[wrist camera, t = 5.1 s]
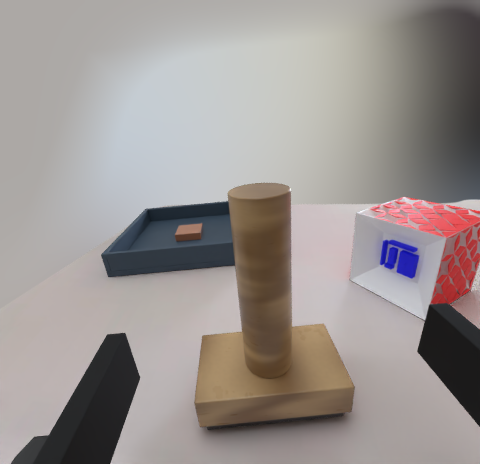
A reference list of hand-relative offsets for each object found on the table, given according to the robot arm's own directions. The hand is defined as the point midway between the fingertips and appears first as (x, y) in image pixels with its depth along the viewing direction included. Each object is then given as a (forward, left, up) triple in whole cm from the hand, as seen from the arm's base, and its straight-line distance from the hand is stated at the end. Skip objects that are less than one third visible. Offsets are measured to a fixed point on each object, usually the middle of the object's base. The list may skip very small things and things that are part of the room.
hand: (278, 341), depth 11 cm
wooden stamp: (0, +4, -8) cm, 9 cm away
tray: (-9, +31, -8) cm, 33 cm away
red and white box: (+16, +14, -8) cm, 22 cm away
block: (-9, +31, -7) cm, 33 cm away
